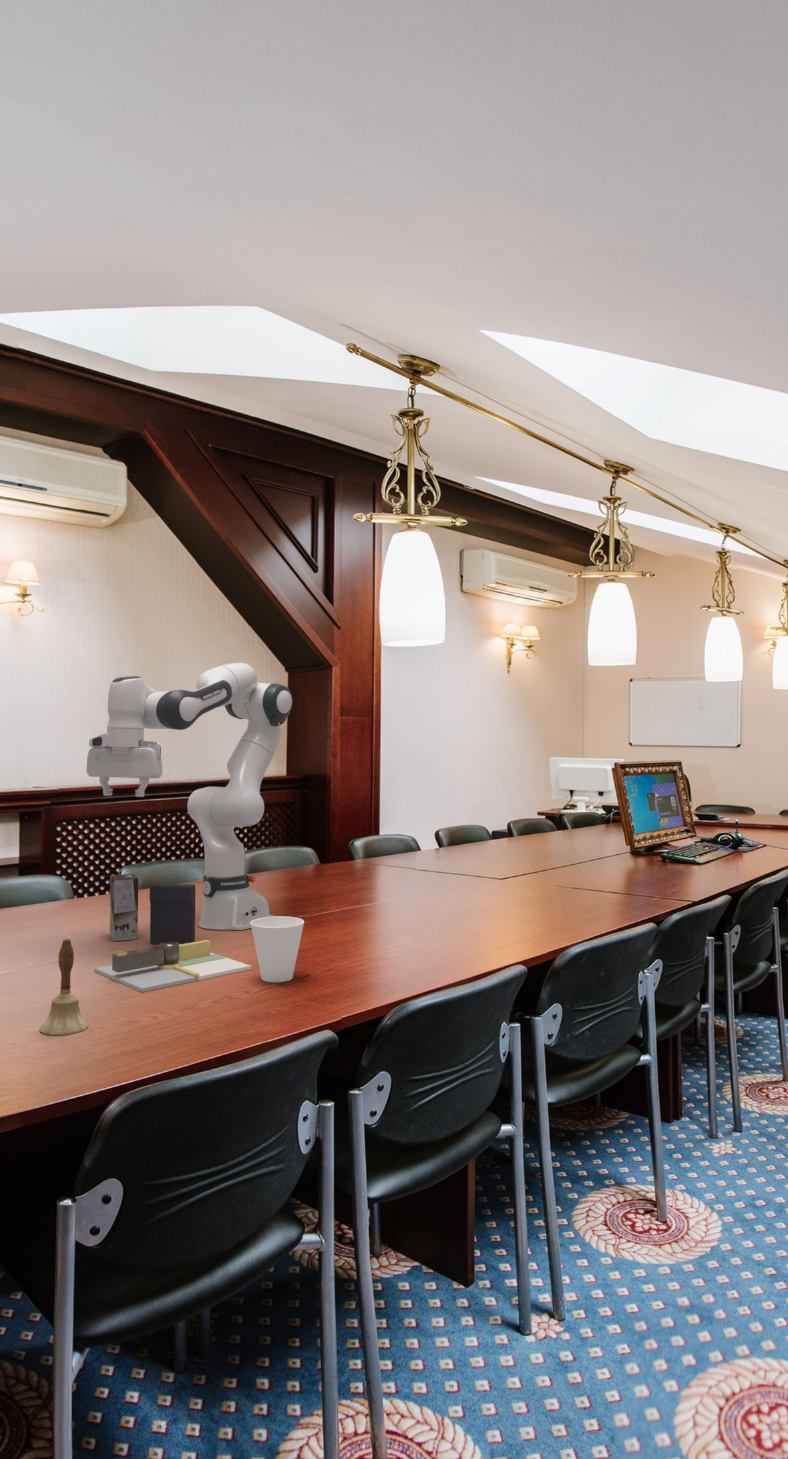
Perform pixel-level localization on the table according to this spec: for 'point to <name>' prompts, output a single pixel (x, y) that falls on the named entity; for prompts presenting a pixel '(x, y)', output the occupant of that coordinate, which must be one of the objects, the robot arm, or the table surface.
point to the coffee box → (123, 907)
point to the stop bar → (145, 957)
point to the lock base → (177, 969)
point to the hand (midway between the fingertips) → (123, 796)
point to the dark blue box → (172, 913)
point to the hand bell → (65, 1000)
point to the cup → (277, 946)
